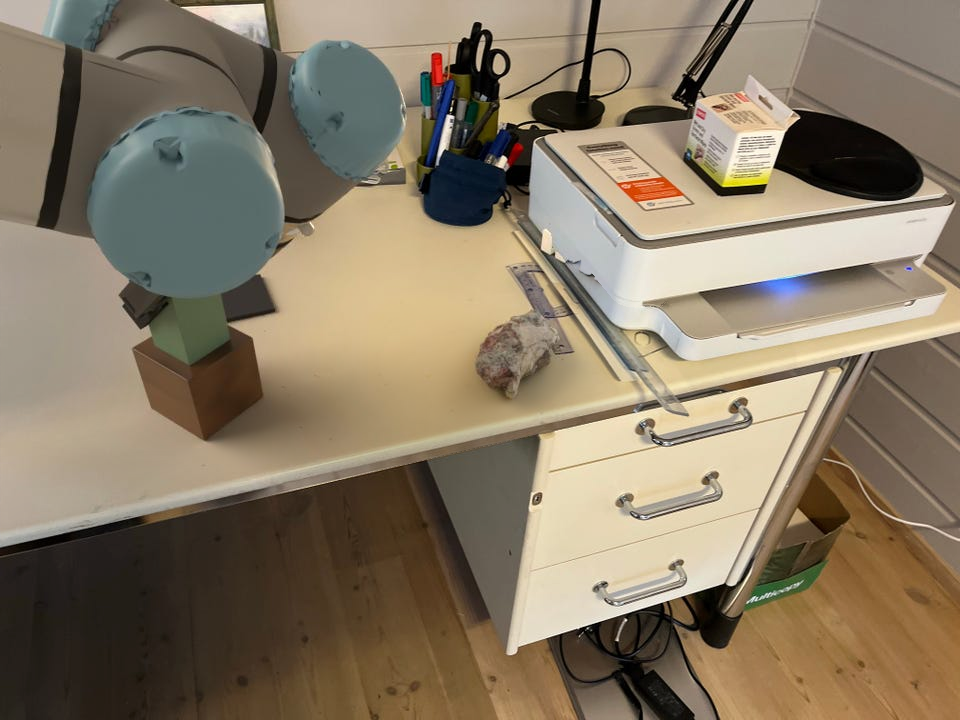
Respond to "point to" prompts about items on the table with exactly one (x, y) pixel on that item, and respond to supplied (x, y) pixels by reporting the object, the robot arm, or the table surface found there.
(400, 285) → the table surface
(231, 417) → the base block
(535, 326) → the mineral rock
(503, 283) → the table surface
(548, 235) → the modular blocks
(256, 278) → the mat
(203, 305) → the top block
